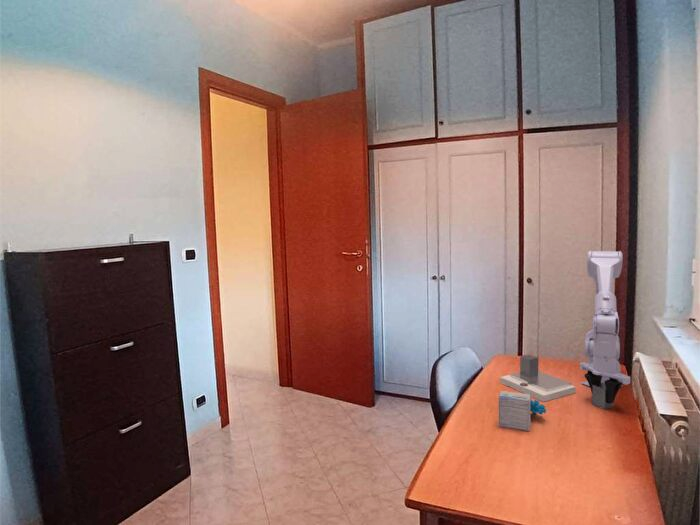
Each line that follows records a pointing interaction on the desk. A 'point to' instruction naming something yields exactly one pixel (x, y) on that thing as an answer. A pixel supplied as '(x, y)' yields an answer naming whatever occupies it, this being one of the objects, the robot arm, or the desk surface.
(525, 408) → the medicine box
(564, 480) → the desk surface
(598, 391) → the block
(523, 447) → the desk surface
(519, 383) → the kitchen scale
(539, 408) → the gear
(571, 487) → the desk surface
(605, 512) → the desk surface
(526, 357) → the block
